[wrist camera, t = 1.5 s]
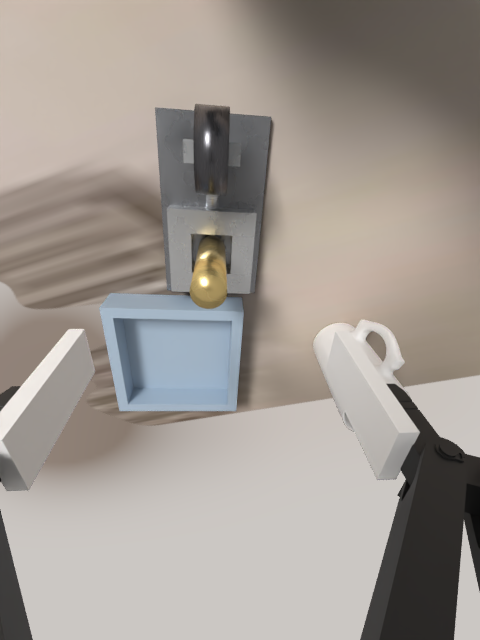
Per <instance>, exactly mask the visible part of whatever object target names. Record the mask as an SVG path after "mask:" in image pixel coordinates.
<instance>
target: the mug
mask: <svg viewBox="0 0 480 640" xmlns="http://www.w3.org/2000/svg"><path fill="white" fill-rule="evenodd" d="M335 331H349V332H350V333H351V335H352V336H353V337H354V339H355V340H356V342H357V343H358V345H359V346H360V347H361V349H362V350H363V352H364V353H365V355H366V356H367V357H368V359H369V360H370V362H371V363H372V365H373V366H374V367H375V369H376V370H377V372H378V373H379V375H380V376H381V377H382V379H383V380H384V382H385V383H386V384H396V385H397V386H399V387H400V388H401V389H403V390H404V391H405V392H406V393H407V391H406V390H405V389H404V388H403V386H402V385H401V384H400V382H399V381H398V380H397V379H396V377H395V376H394V375H393V371H394V370H398V369H400V367H401V366H402V365H403V364H404V363H405V361H404V360H403V358H402V356H401V352H400V349H399V346H398V343H397V340H396V338H395V336H394V335H393V333H392V332H391V331H390V330H389V329H388V328H387V327H386V326H384V325H382V324H379V323H376V322H372V321H368V320H360V321H359V323H358V325H357V327H356V328H355V327H354V326H352V325H350V324H347V323H334V324H331V325H328V326H326V327H325V328H323V329H322V330H321V331H320V332H319V333H318V334H317V335H316V337H315V339H314V342H313V349H314V352H315V355H316V357H317V360H318V363H319V365H320V368H321V370H322V372H323V375H324V377H325V379H326V382H327V384H328V387H329V389H330V392H331V394H332V396H333V399H334V401H335V403H336V406H337V408H338V410H339V413H340V415H341V417H342V419H343V422H344V424H345V426H346V427H347V428H348V429H350V430H351V431H353V432H354V430H353V427H352V425H351V423H350V421H349V419H348V417H347V415H346V413H345V410H344V408H343V406H342V404H341V402H340V400H339V398H338V396H337V394H336V391H335V389H334V387H333V385H332V383H331V381H330V379H329V377H328V374H327V372H326V368H327V364H328V360H329V355H330V351H331V347H332V343H333V339H334V335H335ZM372 331H374V332H376V333H378V334H379V335H380V336H381V337H382V338H383V339H384V342H385V345H386V357H385V359H384V361H382V360H381V359H380V357H379V356H378V355H377V354H376V352H375V351H374V350H373V349H372V347H371V346H370V345H369V344H368V342H367V341H366V337H367V335H368V334H369V333H370V332H372ZM407 395H408V396H409V394H408V393H407ZM409 397H410V396H409Z"/></svg>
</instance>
